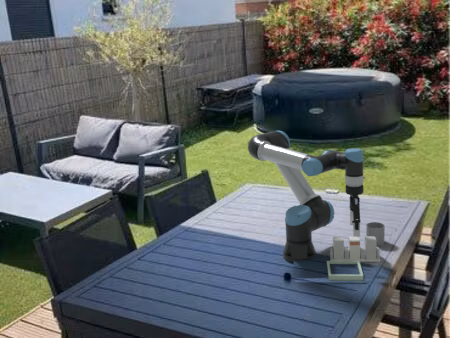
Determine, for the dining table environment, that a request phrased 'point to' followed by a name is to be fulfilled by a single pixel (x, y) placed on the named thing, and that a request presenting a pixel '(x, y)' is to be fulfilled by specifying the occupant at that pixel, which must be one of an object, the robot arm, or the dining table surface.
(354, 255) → the block
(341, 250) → the block
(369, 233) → the cup
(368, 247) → the block
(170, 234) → the dining table surface
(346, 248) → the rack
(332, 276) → the tray
